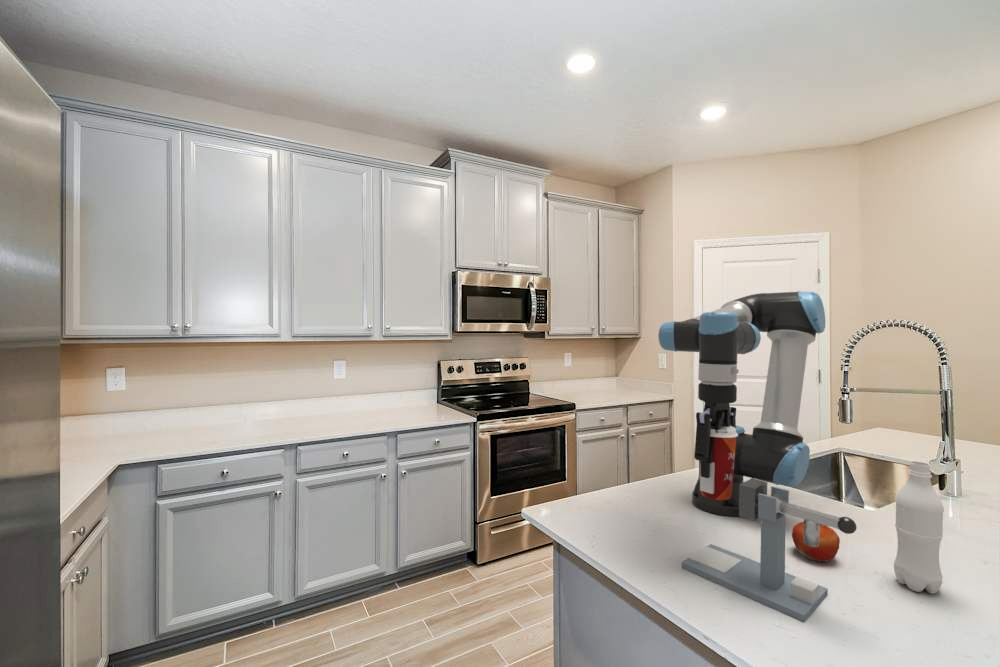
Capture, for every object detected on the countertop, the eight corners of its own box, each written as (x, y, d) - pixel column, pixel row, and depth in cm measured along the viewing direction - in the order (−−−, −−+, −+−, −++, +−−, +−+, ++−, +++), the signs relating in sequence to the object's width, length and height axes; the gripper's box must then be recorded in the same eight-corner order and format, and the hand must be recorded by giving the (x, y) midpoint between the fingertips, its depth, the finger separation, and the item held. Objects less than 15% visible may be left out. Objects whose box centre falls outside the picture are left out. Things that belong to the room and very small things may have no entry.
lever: (738, 526, 92) (739, 484, 92) (751, 518, 96) (751, 478, 96) (850, 564, 78) (851, 514, 78) (860, 553, 81) (861, 505, 81)
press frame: (681, 567, 98) (683, 478, 98) (710, 549, 106) (711, 466, 106) (804, 622, 80) (806, 512, 80) (827, 594, 88) (829, 495, 88)
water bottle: (884, 577, 94) (886, 458, 94) (915, 575, 95) (918, 457, 95) (918, 598, 87) (921, 469, 87) (952, 596, 88) (955, 468, 87)
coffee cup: (742, 503, 94) (743, 431, 94) (700, 500, 95) (701, 429, 95) (730, 489, 102) (731, 423, 102) (691, 486, 104) (692, 421, 103)
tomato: (826, 571, 97) (826, 534, 97) (782, 551, 105) (783, 517, 105) (849, 560, 101) (849, 525, 101) (805, 543, 109) (806, 510, 109)
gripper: (712, 388, 89) (710, 504, 89) (755, 381, 102) (753, 482, 102) (676, 384, 95) (675, 493, 95) (721, 378, 107) (719, 474, 108)
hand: (715, 487), depth 99 cm, fingers closed on coffee cup, 7 cm apart
